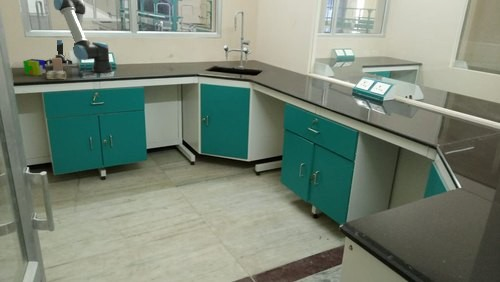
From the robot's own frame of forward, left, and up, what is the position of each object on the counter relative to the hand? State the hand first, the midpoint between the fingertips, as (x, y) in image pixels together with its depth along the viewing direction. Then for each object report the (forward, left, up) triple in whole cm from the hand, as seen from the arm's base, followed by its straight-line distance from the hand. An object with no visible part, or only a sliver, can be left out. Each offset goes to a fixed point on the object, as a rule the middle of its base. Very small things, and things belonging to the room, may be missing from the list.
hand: (57, 64), depth 295 cm
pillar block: (-1, +6, -7) cm, 9 cm away
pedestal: (-1, +21, -7) cm, 22 cm away
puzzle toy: (+15, +3, -7) cm, 17 cm away
